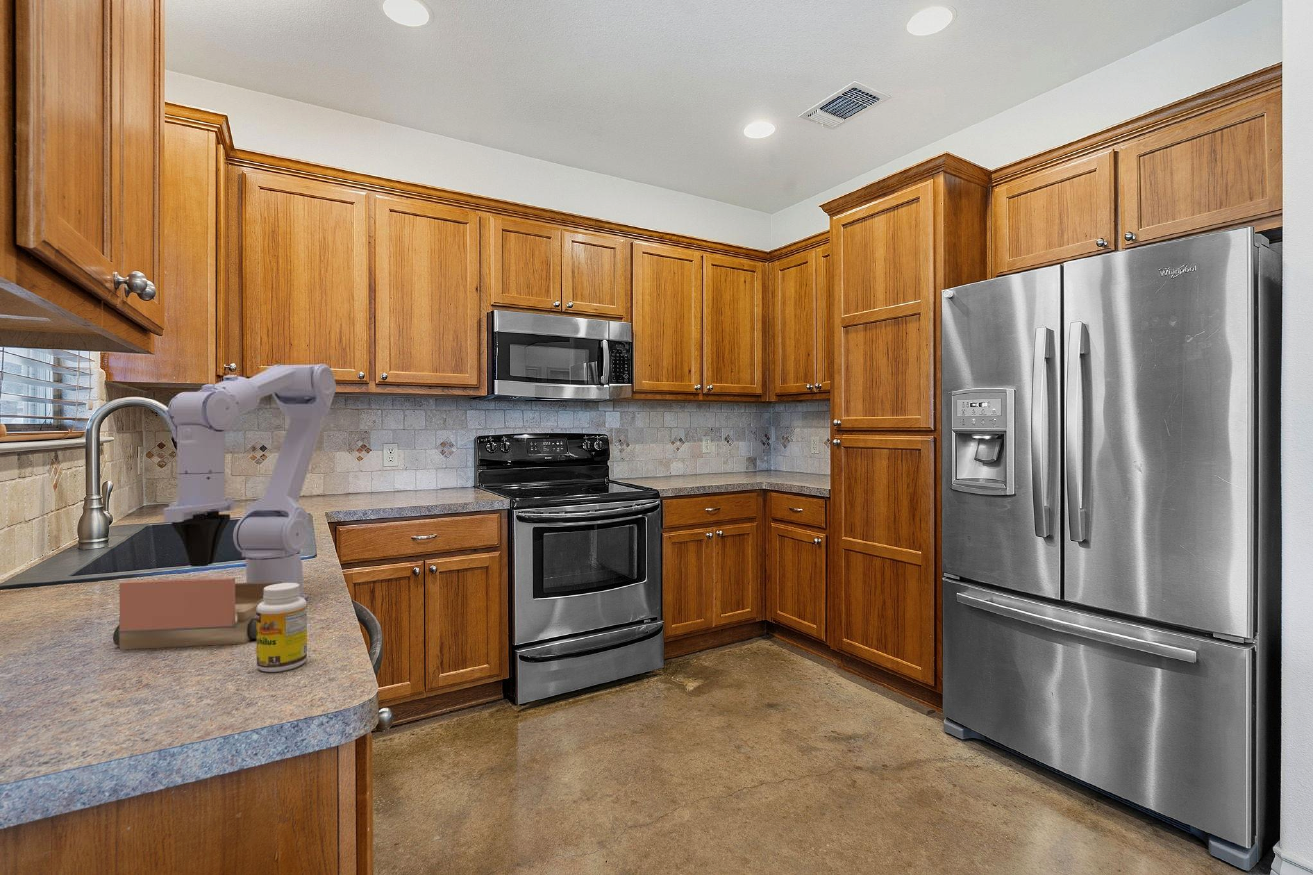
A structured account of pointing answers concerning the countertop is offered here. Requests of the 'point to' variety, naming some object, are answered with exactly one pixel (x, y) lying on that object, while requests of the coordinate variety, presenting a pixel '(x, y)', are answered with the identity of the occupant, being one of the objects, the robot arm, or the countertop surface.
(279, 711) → the countertop surface
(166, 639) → the truck bed
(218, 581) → the panel
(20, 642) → the countertop surface
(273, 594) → the supplement bottle
